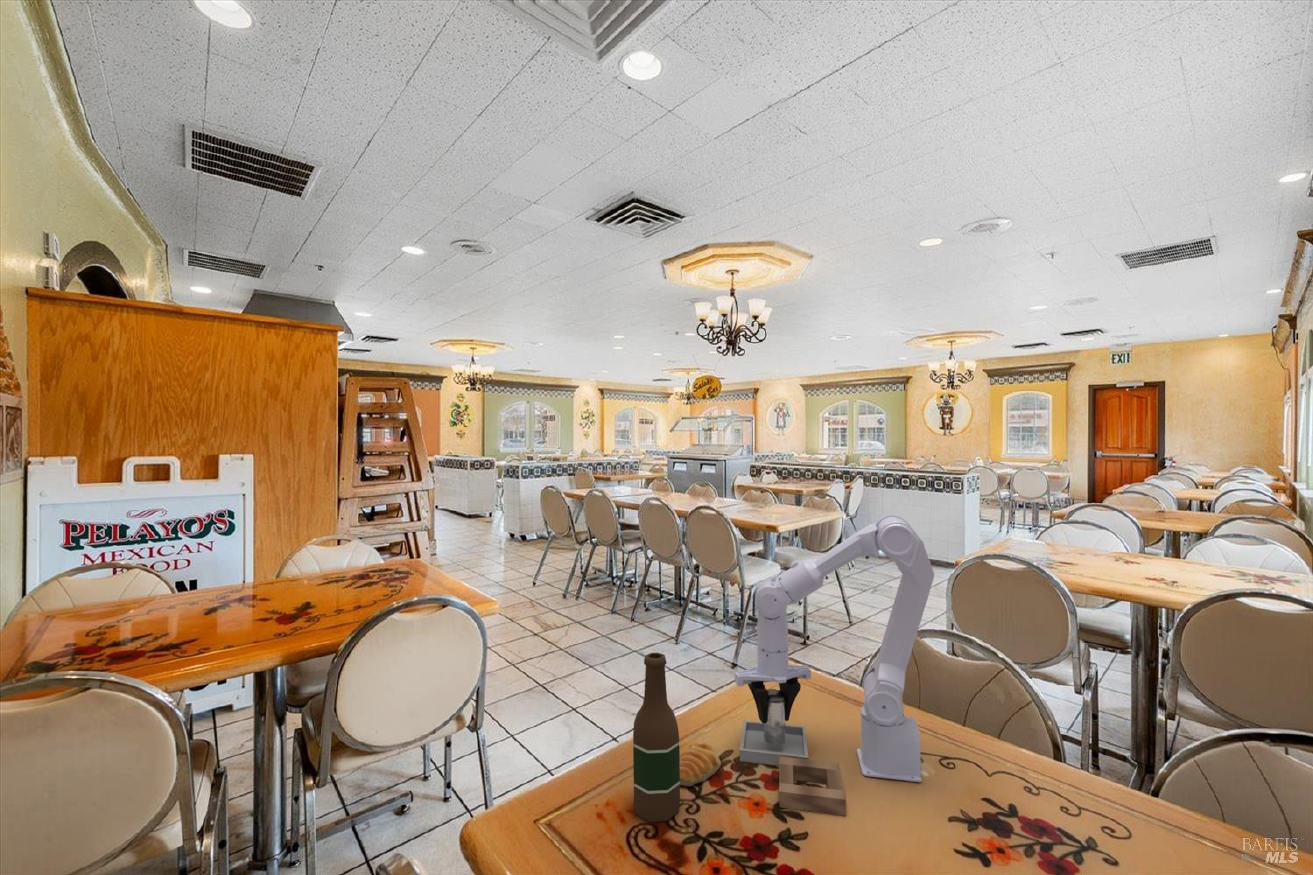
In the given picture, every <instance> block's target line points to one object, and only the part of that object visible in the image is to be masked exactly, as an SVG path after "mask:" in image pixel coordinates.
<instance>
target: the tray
mask: <svg viewBox="0 0 1313 875" xmlns="http://www.w3.org/2000/svg"><path fill="white" fill-rule="evenodd" d="M740 737H741V739H740V745H739V746H740V747H739V762H744V763H752V764H761V765H771V766H778V767H779V756H781V757H790V758H799V759H808V760H809V750H808V739H807V730H806V725H805V726H804V725H794V724H786V723H785V743H783V744H781V745H773V744H769V743H767V742H766V741H765V740H764V724H763V723H762V722H761V721H757V720H756V721H753V720H743V722H742V731H741V736H740Z"/></svg>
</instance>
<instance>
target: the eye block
mask: <svg viewBox="0 0 1313 875" xmlns="http://www.w3.org/2000/svg"><path fill="white" fill-rule="evenodd" d="M841 772H842V771H841V768H840V762H835V761H825V760H824V761H823V760H817V759H809V758H808V759H799V758H790V757H781V756H779V766H778V774H779V775H778V776H779V777H778V778H779V779H778V801H779V802H778V803H779V804H778V805H779V808H783V809H791V810H797V811H798V810H799V811H805V812H806V811H807V812H814V813H818V814H819V813H821V814H828V815H837V816H843V817H846V815H847V814H846V812H847V808H846V807H847V804H846V803H847V802H846V800H847V799H846V794H845V790H844V784H843V779H842V773H841ZM794 781H800V782H809V783H817V784H823V785H824V784H825V785H826V788H825V787H818V786H809V785H799V784H794Z"/></svg>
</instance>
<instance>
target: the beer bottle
mask: <svg viewBox="0 0 1313 875" xmlns="http://www.w3.org/2000/svg"><path fill="white" fill-rule="evenodd" d="M643 664H644V665H645V674H644V675H645V678H644V694H643V701H642V705H641V707H640V708H639V710H638V711H637V713H636V714H635V718H634V721H633V733H632V740H633V741H632V744H633V746H632V747H633V749H632V750H633V752H632V753H633V754H632V755H633V757H632V758H633V759H632V760H633V763H632V764H633V767H632V768H633V806H634V808H633V809H634V813H635V815H636V816H638V817H640V819H643V820H645V821H646V822H648V823H660V822H668V821H670V820H671V819H672V818H673V817H674V816H675V815H677V814H678V813H679V811H680V809H681V807H680V806H681V785H680V756H681V754H680V753H681V752H680V749H681V748H680V735H679V734H680V733H679V725H678V720H677V718H676V714H675V712H674V710H673V708H672V707H671V706H670V705H669V702H668V693H667V682H666V678H667V677H666V668H665V667H666V665H667V659H666V655H665V654H663V653H661V652H649V653H648V654H645V655H644V658H643Z"/></svg>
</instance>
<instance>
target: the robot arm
mask: <svg viewBox="0 0 1313 875" xmlns="http://www.w3.org/2000/svg"><path fill="white" fill-rule="evenodd" d="M879 550H880V551H881V552H882V553H883V554H884V555H885V556H886V557H888V558H889V559H890V560H892V561H893V562H894V563H895V565H896V567H897V568H898V570H899V571H900V573H901V578H900V581H899V584H898V588H897V591H896V594H895V597H894V601H893V605H892V607H891V612H890V615H889V618H888V622H887V624H886V629H885V632H884V635H883V639H882V640H881V641H882V642H881V645H880V648H879V651H878V654H877V656H876V657H875V658H874V660H873V664H872V666H871V668H870V669H869V670H868V671H867V672H866V673H865V674H864V676H863V678H862V681H861V682H862V683H861V684H862V685H861V686H862V689H863V698H864V699H863V705H862V707H860V735H861V738H860V739H861V740H860V741H861V745H860V746H861V747H860V748H857V749H856V755H857V758H858V762H859V765H860V770H861V774H862V775H863V776H865V777H871V778H872V777H873V778H880V779H888V780H889V779H890V780H899V781H906V782H914V783H915V782H916V783H922V782H923V781H922V776H921V775H922V774H921V772H922V769H921V768H922V767H921V737H920V730H919V726H918V722H917V720H916V718H914V717H912V716H911V717H909V716H907V715H905V712H904V711H905V707H904V703H903V694H904V690H905V685H906V684H905V682H906V681H905V680H906V671H907V668H908V664H909V661H910V659H911V658H910V657H911V654H912V651H913V648H914V644H915V641H916V639H917V635H918V632H919V628H920V625H921V622H922V619H923V618H922V617H923V615H924V612H925V608H926V605H927V602H928V599H929V595H930V593H931V590H932V589H931V588H932V587H933V586H932V585H933V582H934V578H935V571H934V568H933V566H932V564H931V561H930V558H929V555H928V553H927V550H926V547H925V544H924V541H923V540H922V539H921V537H920V536H919V535H918V534H917V533H916V531H915V530H914V528H912V526H911V524H909V522H908V521H906V520H905V518H902V517H901V516H898V515H886V516H884V517H882V518H880V519H879V520H878V521H877V523H876V522H873V523H870V524H868V525H867V526H865V527H863V528H861V529H859V530H858V531H856V532H855V533H853V534H852V535H851V536H849V537H848V538H846V539H844V540H843V541H842V542H840V543H839V544H837V545H836V546H835V547H833V548H832V549H830V550H829V551H828V552H826V553H825V554H823V555H822V556H820V557H818V559H816V560H808V559H803V560H800V561H798V559H797V560H794V561H793V562H792V563H791V565H790V566H791V567H790V568H789V569H787V570H785V571H783V572H782V573H781V574H779V575H776V574H774V575H772V577H771V578H770V580H769V581H766V582H764V583H763V584H762V585H761V586H760V588H759V589H758V591H757V593H756V595H755V599H754V606H755V608H756V610H757V616H756V617H757V622H756V639H757V641H756V642H757V643H756V645H757V650H756V651H757V666H755V667H751V668H749V669H745V670H740V671H735V672H734V683H735V684H736V685H737V687H740V688H741V687H744V685H747V686H748V688H749V690H750V692H751V694H752V697H753V700H754V703H755V706H756V709H757V715H758V719H759V722H762V723H763V724H764V723H767V697H768V691H767V690H768V688H766V685H765V683H771V682H774V683H776V684H778V687H779V690H780V691H782V692H784V693H785V722H788V721H789V720H790V716H791V712H792V709H793V705H794V702H795V701H796V697H797V696H798V695H799V692H800V691H801V686H802V685H801V683H800V682H799V681H798V680H799V679H801V680H802V679H805V680H806V681H807V680H812V669H811V668H810V667H808V665H792V664H791V665H789V624H788V622H787V618H788V617H787V609H788V606H791V605H795V604H796V603H798V602H800V601H802V600H803V599H804V598H806V597H808V596H810V595H811V594H813V593H815V592H816V591H818V590H819V589H821V588H822V587H823V586H824V580H825V577H827V576H828V575H830V574H831V573H833V572H835V571H837V570H838V569H840V568H842V567H845V566H846V565H848V564H849V563H851V562H852V561H854V560H856V559H858V558H859V557H863V556H867V557H877V558H879V557H880V554H879Z"/></svg>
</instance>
